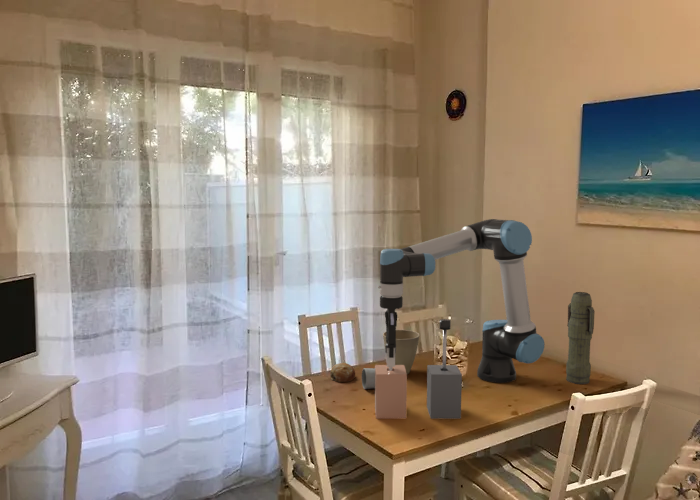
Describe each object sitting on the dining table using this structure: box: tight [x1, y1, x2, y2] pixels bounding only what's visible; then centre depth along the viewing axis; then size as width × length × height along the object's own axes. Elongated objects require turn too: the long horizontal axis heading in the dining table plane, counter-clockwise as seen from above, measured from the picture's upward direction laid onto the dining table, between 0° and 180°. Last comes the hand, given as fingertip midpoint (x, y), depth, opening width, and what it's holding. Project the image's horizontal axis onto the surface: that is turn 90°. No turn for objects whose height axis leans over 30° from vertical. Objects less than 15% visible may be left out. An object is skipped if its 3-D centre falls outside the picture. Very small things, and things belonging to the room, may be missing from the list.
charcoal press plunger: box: [439, 318, 452, 371], centre depth 194 cm, size 8×8×22 cm
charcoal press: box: [426, 364, 463, 420], centre depth 196 cm, size 10×12×15 cm
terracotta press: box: [374, 364, 408, 419], centre depth 196 cm, size 10×12×15 cm
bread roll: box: [330, 362, 356, 383], centre depth 231 cm, size 10×10×8 cm
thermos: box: [565, 291, 595, 385], centre depth 226 cm, size 9×12×35 cm
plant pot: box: [382, 329, 420, 375], centre depth 238 cm, size 15×15×16 cm
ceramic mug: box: [361, 367, 375, 390], centre depth 221 cm, size 11×8×8 cm
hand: (390, 364), depth 194 cm, fingers open, 4 cm apart
